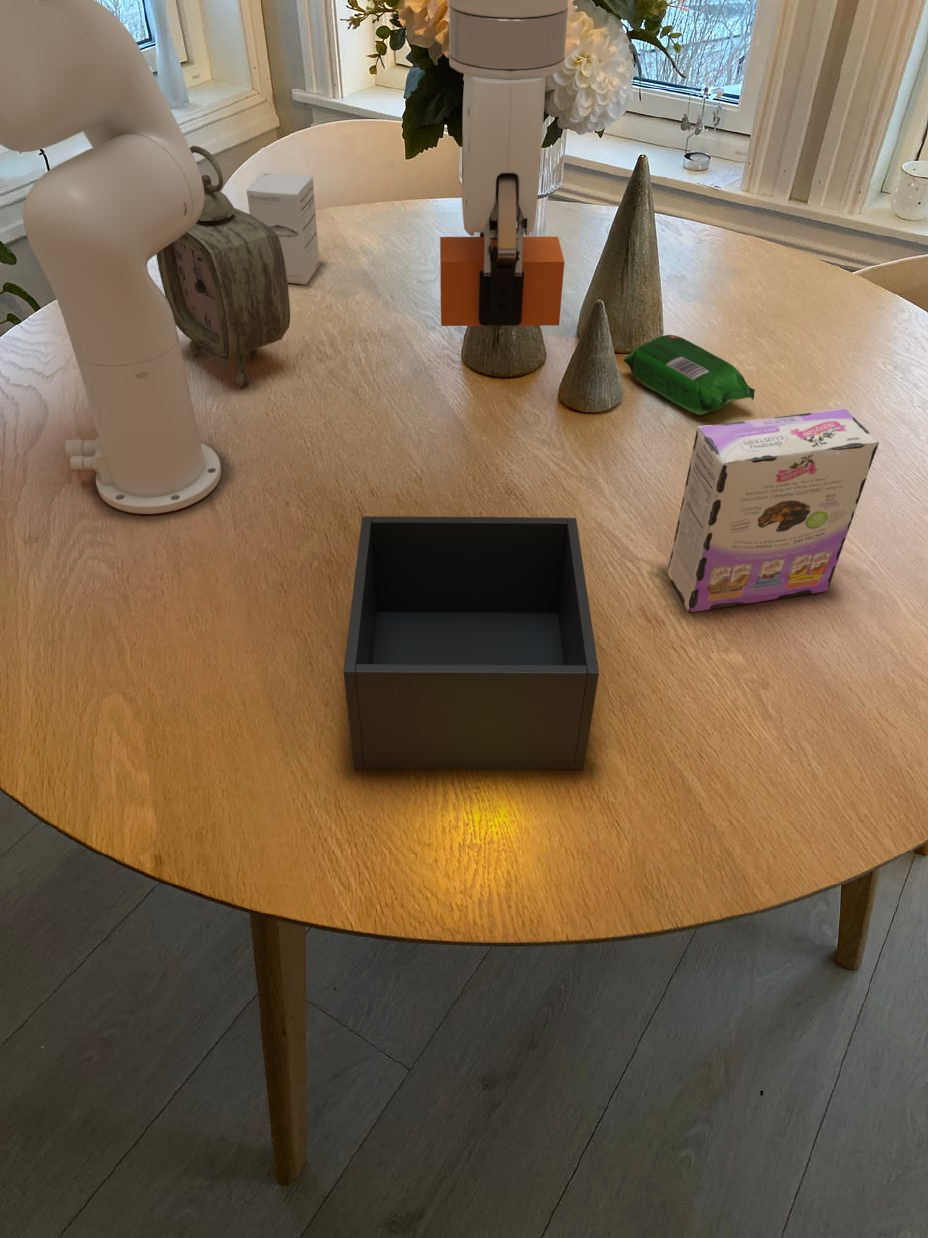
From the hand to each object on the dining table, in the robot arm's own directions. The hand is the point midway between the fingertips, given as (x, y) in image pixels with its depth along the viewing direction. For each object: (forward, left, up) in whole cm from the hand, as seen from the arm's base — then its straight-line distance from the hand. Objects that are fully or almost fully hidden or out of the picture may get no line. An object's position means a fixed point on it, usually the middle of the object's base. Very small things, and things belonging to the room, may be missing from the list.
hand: (497, 305), depth 74 cm
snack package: (+24, +31, -26) cm, 47 cm away
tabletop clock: (-30, +38, -26) cm, 55 cm away
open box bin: (-2, -16, -25) cm, 30 cm away
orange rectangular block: (0, 0, -1) cm, 1 cm away
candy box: (+24, -3, -26) cm, 35 cm away
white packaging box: (-27, +64, -26) cm, 74 cm away
